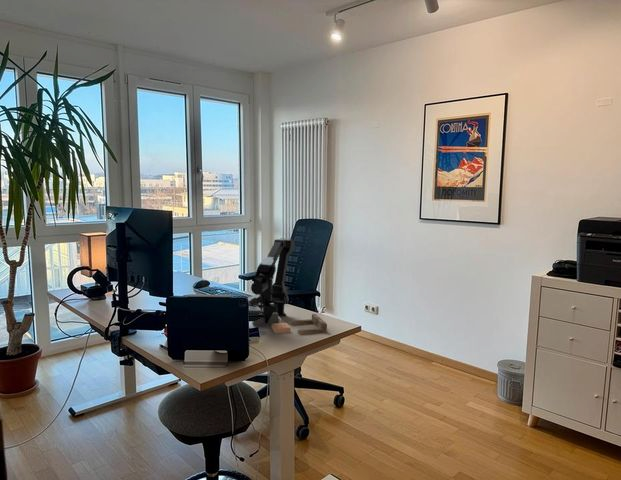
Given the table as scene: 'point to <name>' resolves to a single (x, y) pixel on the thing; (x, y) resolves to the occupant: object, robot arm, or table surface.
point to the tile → (280, 327)
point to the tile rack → (315, 320)
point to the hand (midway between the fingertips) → (265, 321)
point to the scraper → (272, 320)
